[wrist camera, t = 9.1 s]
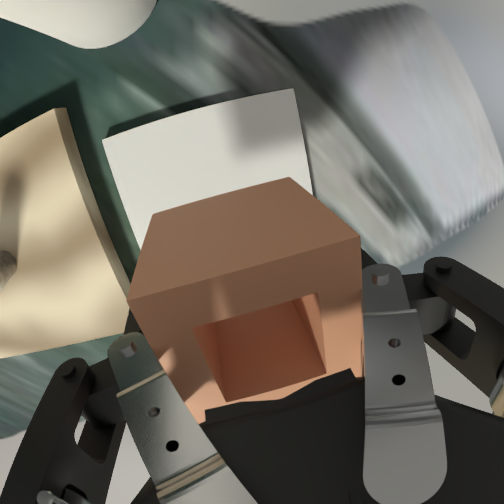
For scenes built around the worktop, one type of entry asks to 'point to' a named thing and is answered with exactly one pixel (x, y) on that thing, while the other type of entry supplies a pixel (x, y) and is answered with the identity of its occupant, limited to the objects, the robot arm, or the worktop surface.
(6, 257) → the post
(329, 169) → the worktop surface
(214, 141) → the pad
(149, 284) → the collar
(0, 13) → the cylindrical container
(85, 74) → the worktop surface
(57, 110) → the stand base
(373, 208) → the worktop surface
